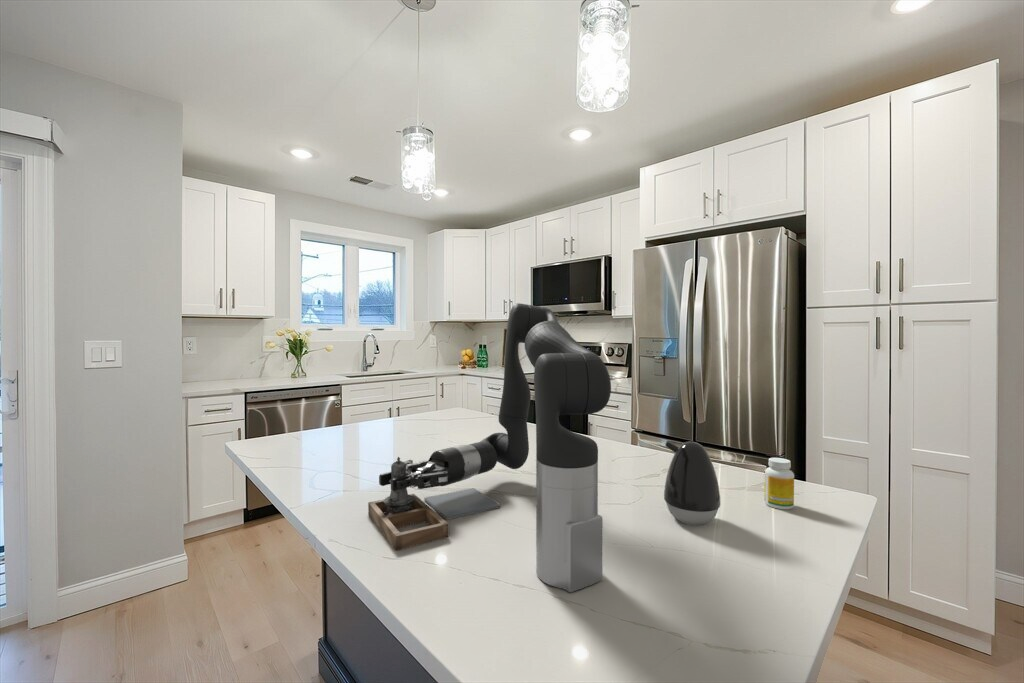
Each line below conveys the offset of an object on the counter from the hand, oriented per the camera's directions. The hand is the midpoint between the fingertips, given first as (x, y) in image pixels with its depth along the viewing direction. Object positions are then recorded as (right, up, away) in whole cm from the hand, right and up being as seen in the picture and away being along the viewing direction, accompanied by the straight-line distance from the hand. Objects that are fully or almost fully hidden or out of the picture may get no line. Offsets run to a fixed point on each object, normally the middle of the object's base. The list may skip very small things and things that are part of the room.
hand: (386, 482), depth 88 cm
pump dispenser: (+59, -8, +1) cm, 60 cm away
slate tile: (+13, -7, +9) cm, 18 cm away
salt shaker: (+2, -8, +2) cm, 8 cm away
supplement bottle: (+80, -7, +8) cm, 81 cm away
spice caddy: (+4, -8, -1) cm, 9 cm away
